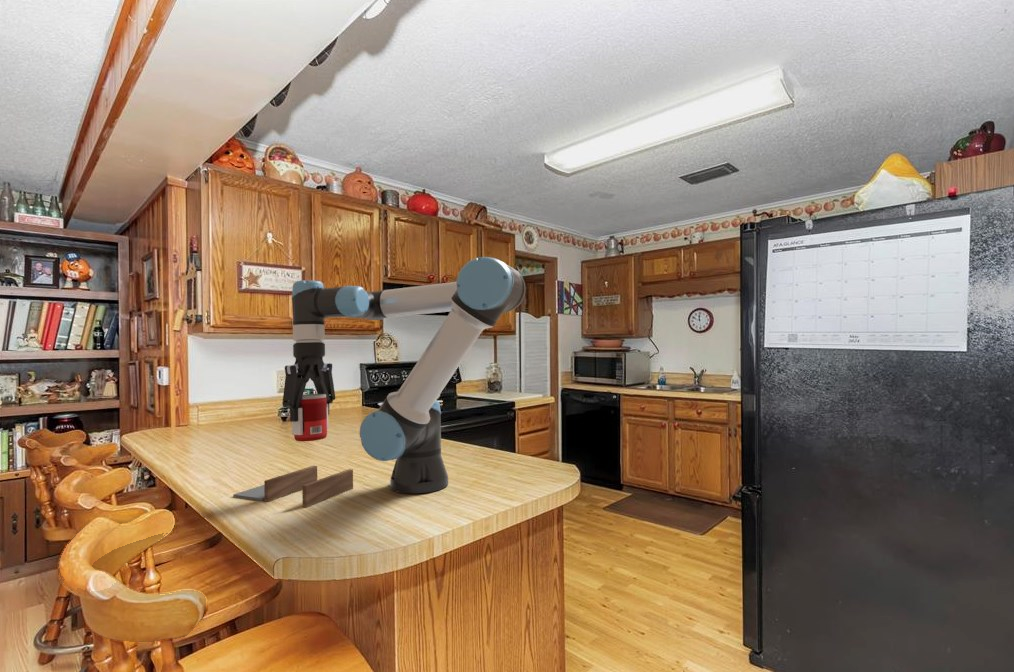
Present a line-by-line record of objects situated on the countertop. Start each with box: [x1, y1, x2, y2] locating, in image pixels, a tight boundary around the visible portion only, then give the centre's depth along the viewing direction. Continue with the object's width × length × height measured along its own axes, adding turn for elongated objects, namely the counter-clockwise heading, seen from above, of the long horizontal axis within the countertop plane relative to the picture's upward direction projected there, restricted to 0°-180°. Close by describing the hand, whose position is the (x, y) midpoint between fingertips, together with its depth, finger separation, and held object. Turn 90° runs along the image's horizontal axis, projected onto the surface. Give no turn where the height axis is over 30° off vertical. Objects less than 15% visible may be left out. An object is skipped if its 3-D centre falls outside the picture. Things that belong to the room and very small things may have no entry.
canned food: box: [293, 393, 328, 442], centre depth 124 cm, size 8×8×11 cm
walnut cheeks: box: [263, 465, 354, 508], centre depth 124 cm, size 13×16×5 cm
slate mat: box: [232, 484, 265, 502], centre depth 126 cm, size 10×10×1 cm
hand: (310, 431), depth 124 cm, fingers closed on canned food, 8 cm apart
